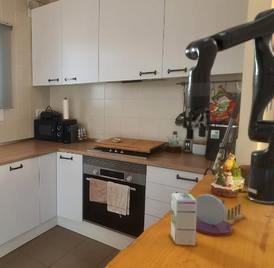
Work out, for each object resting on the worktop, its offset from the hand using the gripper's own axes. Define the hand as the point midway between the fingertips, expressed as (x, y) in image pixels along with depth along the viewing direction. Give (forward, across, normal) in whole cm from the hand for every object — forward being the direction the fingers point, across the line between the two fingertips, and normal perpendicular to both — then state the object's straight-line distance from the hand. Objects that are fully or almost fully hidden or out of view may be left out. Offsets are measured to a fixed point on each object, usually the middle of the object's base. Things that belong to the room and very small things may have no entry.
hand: (196, 138), depth 103 cm
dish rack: (+28, +2, -11) cm, 30 cm away
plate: (+22, -10, -11) cm, 27 cm away
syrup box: (+28, -26, -11) cm, 40 cm away
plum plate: (+28, -10, -11) cm, 32 cm away
